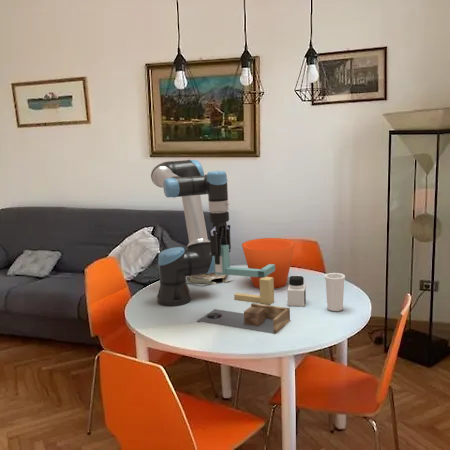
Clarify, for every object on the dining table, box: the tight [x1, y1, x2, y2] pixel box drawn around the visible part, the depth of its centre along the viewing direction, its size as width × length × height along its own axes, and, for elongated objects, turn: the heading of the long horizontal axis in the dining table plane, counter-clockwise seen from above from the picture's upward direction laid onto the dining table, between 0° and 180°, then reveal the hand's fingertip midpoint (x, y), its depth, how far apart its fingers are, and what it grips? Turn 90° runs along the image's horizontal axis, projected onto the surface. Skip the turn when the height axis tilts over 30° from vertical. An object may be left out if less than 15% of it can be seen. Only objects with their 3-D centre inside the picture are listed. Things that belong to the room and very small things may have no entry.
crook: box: [214, 245, 275, 278], centre depth 206 cm, size 20×12×11 cm, turn 62°
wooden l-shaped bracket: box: [250, 302, 291, 334], centre depth 203 cm, size 16×13×6 cm
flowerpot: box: [241, 237, 296, 290], centre depth 252 cm, size 25×25×20 cm
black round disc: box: [206, 313, 222, 319], centre depth 214 cm, size 6×6×1 cm
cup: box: [324, 272, 346, 312], centre depth 215 cm, size 8×8×14 cm
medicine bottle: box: [286, 274, 307, 307], centre depth 224 cm, size 7×7×12 cm
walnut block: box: [243, 306, 265, 326], centre depth 205 cm, size 6×6×5 cm
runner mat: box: [196, 309, 282, 335], centre depth 208 cm, size 34×14×1 cm, turn 61°
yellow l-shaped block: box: [233, 277, 275, 306], centre depth 230 cm, size 18×4×11 cm, turn 61°
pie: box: [188, 272, 232, 287], centre depth 269 cm, size 28×27×5 cm
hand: (222, 270), depth 207 cm, fingers closed on crook, 4 cm apart
